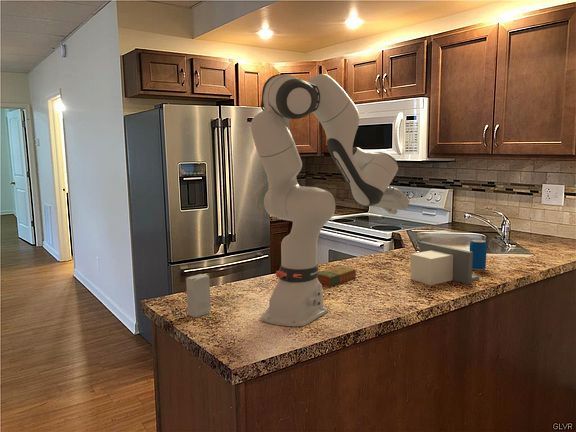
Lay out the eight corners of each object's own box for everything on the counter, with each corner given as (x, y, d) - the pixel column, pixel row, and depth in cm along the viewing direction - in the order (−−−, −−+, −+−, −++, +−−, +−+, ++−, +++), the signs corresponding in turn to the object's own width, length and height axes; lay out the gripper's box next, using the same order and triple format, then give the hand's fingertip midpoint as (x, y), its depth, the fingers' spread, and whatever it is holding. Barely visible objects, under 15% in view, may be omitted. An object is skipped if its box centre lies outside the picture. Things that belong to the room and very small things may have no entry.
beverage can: (485, 267, 194) (487, 239, 193) (485, 271, 188) (486, 242, 187) (469, 266, 197) (470, 238, 195) (468, 270, 191) (469, 241, 189)
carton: (356, 279, 182) (356, 268, 181) (330, 288, 171) (330, 276, 170) (339, 275, 188) (339, 264, 187) (313, 283, 176) (313, 272, 176)
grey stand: (467, 284, 171) (469, 252, 169) (418, 270, 192) (419, 241, 190) (483, 280, 176) (485, 249, 174) (433, 267, 196) (434, 239, 194)
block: (430, 285, 171) (431, 259, 170) (410, 279, 179) (410, 254, 178) (452, 280, 177) (453, 254, 176) (431, 274, 186) (432, 250, 184)
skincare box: (202, 310, 148) (201, 273, 146) (211, 313, 145) (210, 275, 143) (186, 315, 143) (184, 277, 142) (195, 318, 140) (194, 279, 139)
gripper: (400, 181, 151) (420, 208, 158) (358, 178, 168) (378, 203, 175) (390, 195, 149) (411, 222, 156) (349, 191, 166) (369, 216, 173)
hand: (393, 212), depth 165 cm, fingers closed
